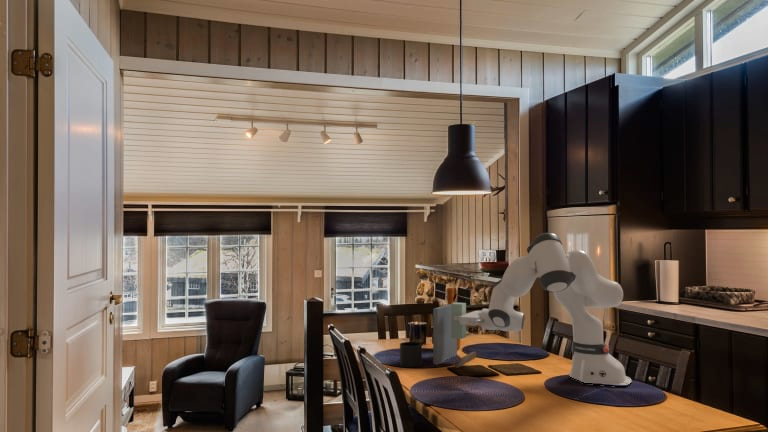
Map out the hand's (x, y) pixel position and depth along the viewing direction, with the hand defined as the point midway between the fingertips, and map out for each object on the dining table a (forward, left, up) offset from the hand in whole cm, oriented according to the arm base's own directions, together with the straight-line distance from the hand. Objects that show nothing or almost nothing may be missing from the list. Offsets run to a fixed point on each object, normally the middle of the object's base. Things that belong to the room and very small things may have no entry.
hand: (456, 316), depth 235 cm
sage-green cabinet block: (-1, 0, -9) cm, 9 cm away
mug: (+16, +15, -20) cm, 30 cm away
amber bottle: (+13, -23, -20) cm, 33 cm away
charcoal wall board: (+1, -1, -20) cm, 20 cm away
